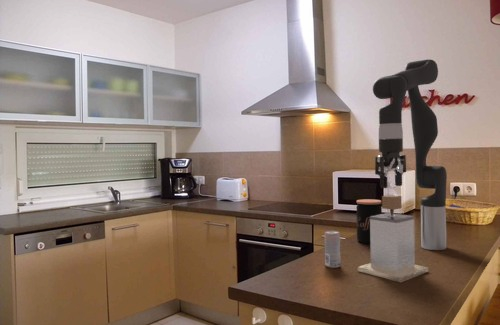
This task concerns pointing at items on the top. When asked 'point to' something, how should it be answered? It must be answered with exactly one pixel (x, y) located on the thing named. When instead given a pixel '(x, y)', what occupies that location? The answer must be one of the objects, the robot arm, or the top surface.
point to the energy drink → (332, 249)
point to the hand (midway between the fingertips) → (391, 186)
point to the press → (392, 248)
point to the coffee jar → (366, 217)
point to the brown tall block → (391, 203)
